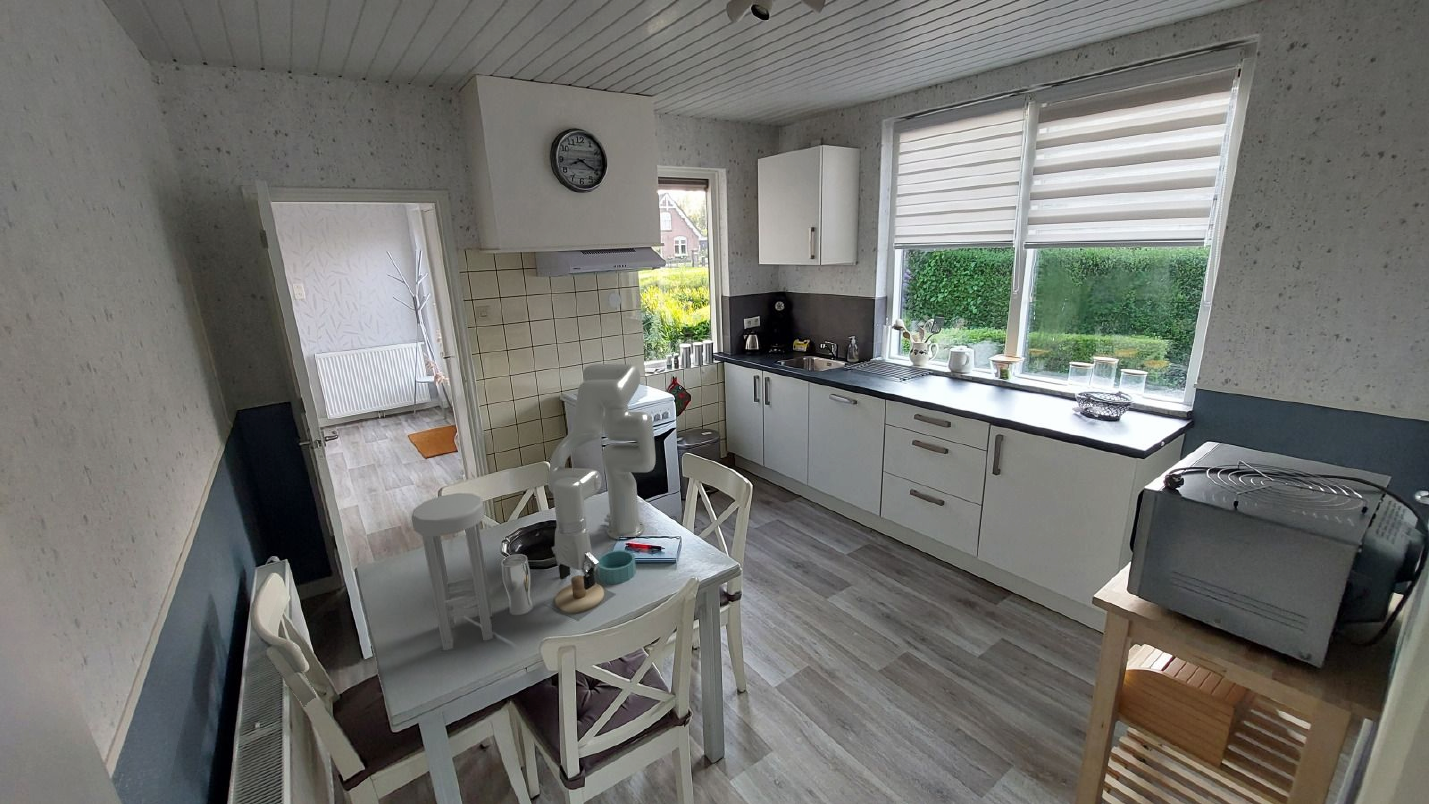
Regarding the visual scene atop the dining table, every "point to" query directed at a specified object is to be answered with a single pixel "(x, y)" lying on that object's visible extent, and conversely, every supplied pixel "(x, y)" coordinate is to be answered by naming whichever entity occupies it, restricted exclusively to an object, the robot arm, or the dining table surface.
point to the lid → (579, 596)
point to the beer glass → (517, 583)
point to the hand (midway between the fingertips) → (577, 582)
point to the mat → (578, 616)
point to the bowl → (616, 566)
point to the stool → (431, 524)
